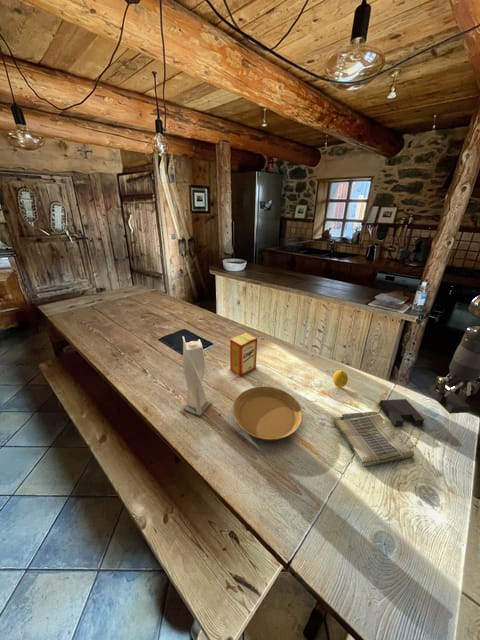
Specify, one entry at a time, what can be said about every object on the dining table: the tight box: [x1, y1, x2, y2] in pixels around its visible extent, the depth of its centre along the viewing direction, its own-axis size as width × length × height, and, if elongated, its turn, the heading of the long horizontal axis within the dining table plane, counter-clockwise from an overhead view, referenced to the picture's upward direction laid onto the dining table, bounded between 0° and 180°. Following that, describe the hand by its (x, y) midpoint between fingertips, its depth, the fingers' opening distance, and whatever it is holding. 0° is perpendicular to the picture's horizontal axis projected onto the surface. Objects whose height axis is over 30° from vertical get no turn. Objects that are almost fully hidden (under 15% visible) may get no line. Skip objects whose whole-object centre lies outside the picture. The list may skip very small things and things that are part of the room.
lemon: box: [332, 369, 349, 388], centre depth 107 cm, size 6×6×8 cm
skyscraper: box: [182, 336, 212, 417], centre depth 92 cm, size 8×8×28 cm
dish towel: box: [333, 410, 415, 467], centre depth 85 cm, size 19×18×3 cm
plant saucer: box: [232, 385, 303, 441], centre depth 93 cm, size 24×24×3 cm
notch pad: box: [378, 398, 425, 427], centre depth 95 cm, size 10×10×2 cm
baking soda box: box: [229, 332, 258, 378], centre depth 115 cm, size 10×6×16 cm
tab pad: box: [429, 384, 471, 414], centre depth 88 cm, size 6×10×2 cm, turn 4°
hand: (449, 402), depth 87 cm, fingers closed on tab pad, 6 cm apart
